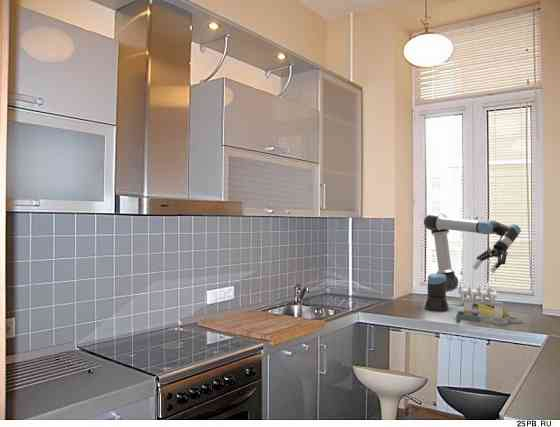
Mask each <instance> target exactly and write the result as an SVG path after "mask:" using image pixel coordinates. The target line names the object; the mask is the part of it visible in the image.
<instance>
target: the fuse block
mask: <svg viewBox="0 0 560 427" xmlns="http://www.w3.org/2000/svg"><path fill="white" fill-rule="evenodd" d="M486 323H488V324H490V325H491V324H492V325H495V326H499V327H500V326H510V325H518V324H519V325H520V324H524V322H523V318H518V317H514V316H509V317H503V321H496V320H494V317H493V318H488V321H486Z"/></svg>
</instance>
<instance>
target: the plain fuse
mask: <svg viewBox="0 0 560 427" xmlns="http://www.w3.org/2000/svg"><path fill="white" fill-rule="evenodd" d="M503 307H504V302H503V301H496V300H494V303H493V308H494V316H493V318H494V320H496V321H503V318H504V317H503V311H504V308H503Z"/></svg>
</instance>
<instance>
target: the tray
mask: <svg viewBox="0 0 560 427" xmlns="http://www.w3.org/2000/svg"><path fill="white" fill-rule="evenodd" d="M461 320H462V321H463V320H464V321H473V322H480V312H475V311H474V312H473V311H472V316H467V315H464V310H457V311H456V322H459V323H461Z"/></svg>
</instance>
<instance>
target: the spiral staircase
mask: <svg viewBox="0 0 560 427" xmlns="http://www.w3.org/2000/svg"><path fill="white" fill-rule="evenodd" d="M458 282H459V283H458V286H457V287H458V288H457V289H458V290H457V291H458V292H457V293H458V294H459V296H460V298H461V303H462V305H463V306H464V298H468V297H469V298H471V299H472V307H473V305H475V303H476V299H477V298H476V297H479V299H480V302H481V303H483V304H485V302H486V298H488V299H489V301H490V304H491V305H490V307H491V308H493V307H494V302H495V300H496V299H498V292H497V289H496V288H495V289H494V290H493V291H491V288H490V287H491V284H490V282H489V280H487V282H486V288H485V289H484V290H482V287H481V282H480V280H479V279H478V282H477V283H476V284H477V285H476V288H475V289H472V288H471V287H472V285H471V284H472V283H471V281H470V279H469V280H468V281H467V286H466V288H463V287H462V280H461V278H460V279H459V280H458ZM467 296H468V297H467Z"/></svg>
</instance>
